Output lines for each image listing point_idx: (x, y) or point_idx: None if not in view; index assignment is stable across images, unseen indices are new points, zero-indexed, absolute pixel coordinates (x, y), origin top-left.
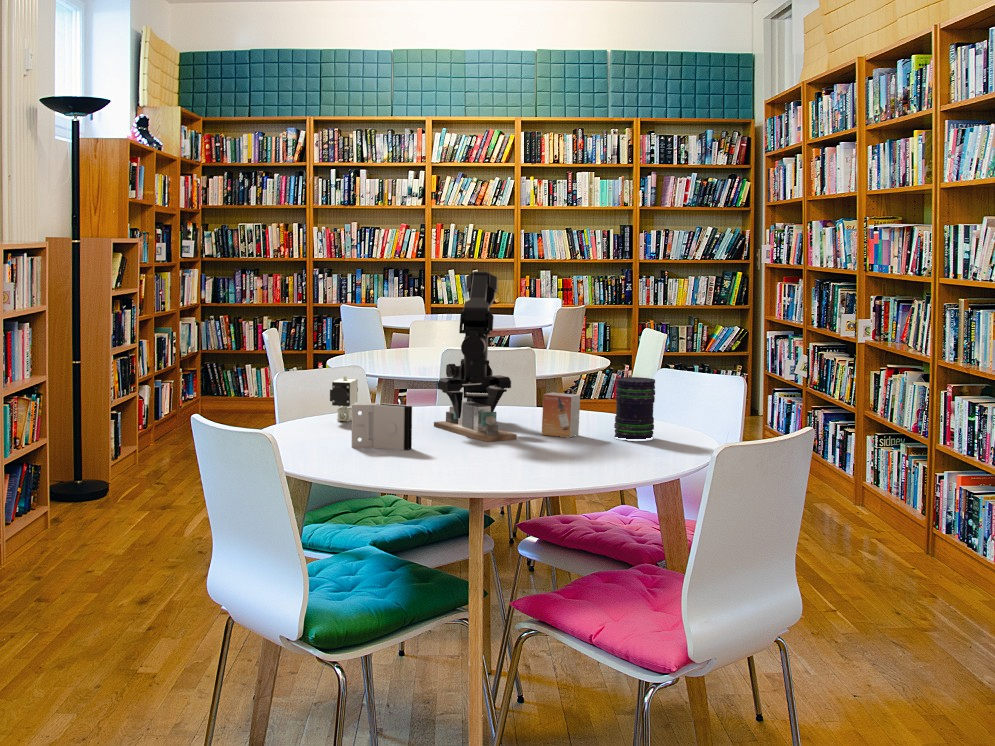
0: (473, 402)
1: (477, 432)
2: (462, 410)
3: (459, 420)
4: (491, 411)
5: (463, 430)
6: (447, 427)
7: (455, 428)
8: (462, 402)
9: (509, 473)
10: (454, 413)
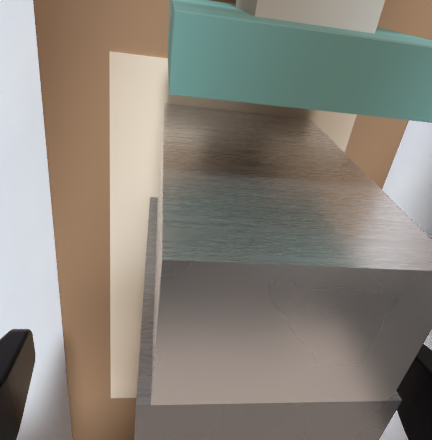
0: (370, 389)
1: (117, 401)
2: (155, 291)
3: (161, 153)
4: (401, 412)
5: (66, 323)
6: (43, 55)
7: (53, 219)
8: (205, 331)
9: None
10: (169, 28)
